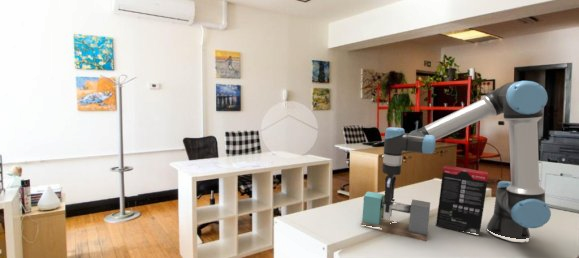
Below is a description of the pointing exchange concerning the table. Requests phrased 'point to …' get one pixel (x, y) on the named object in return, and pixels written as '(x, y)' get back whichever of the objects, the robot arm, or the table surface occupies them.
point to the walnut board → (396, 229)
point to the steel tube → (398, 207)
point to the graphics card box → (462, 199)
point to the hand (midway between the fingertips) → (387, 217)
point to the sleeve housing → (419, 217)
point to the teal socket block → (372, 208)
